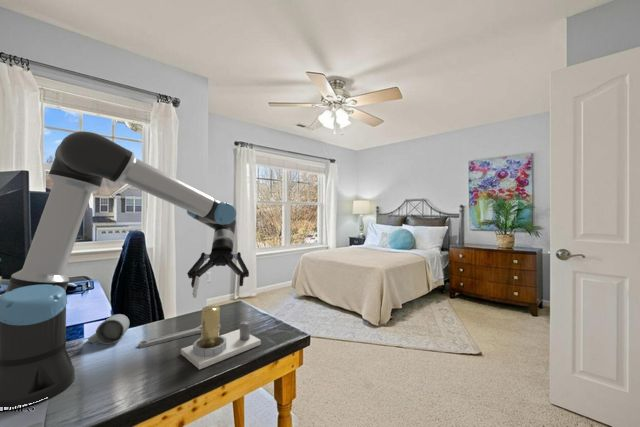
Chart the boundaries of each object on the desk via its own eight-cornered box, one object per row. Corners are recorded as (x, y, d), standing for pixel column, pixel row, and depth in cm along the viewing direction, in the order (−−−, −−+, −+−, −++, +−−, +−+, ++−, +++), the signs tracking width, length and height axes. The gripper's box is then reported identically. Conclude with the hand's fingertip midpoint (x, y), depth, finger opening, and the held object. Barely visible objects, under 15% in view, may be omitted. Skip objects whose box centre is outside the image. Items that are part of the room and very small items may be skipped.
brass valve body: (197, 354, 82) (198, 312, 82) (201, 344, 88) (202, 305, 88) (218, 352, 83) (220, 311, 83) (221, 343, 89) (222, 305, 89)
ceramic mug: (130, 332, 99) (130, 310, 99) (123, 342, 91) (123, 318, 91) (93, 336, 95) (93, 314, 95) (83, 348, 88) (83, 323, 88)
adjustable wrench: (138, 350, 88) (138, 344, 88) (137, 342, 93) (137, 336, 93) (221, 331, 102) (221, 326, 102) (216, 325, 107) (216, 320, 107)
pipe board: (199, 369, 77) (199, 345, 77) (180, 353, 85) (181, 332, 85) (260, 344, 92) (261, 324, 92) (239, 333, 100) (240, 314, 100)
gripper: (256, 249, 114) (255, 298, 99) (189, 250, 109) (177, 301, 94) (256, 237, 109) (254, 287, 94) (186, 237, 104) (173, 290, 89)
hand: (216, 295), depth 94 cm, fingers open, 13 cm apart
